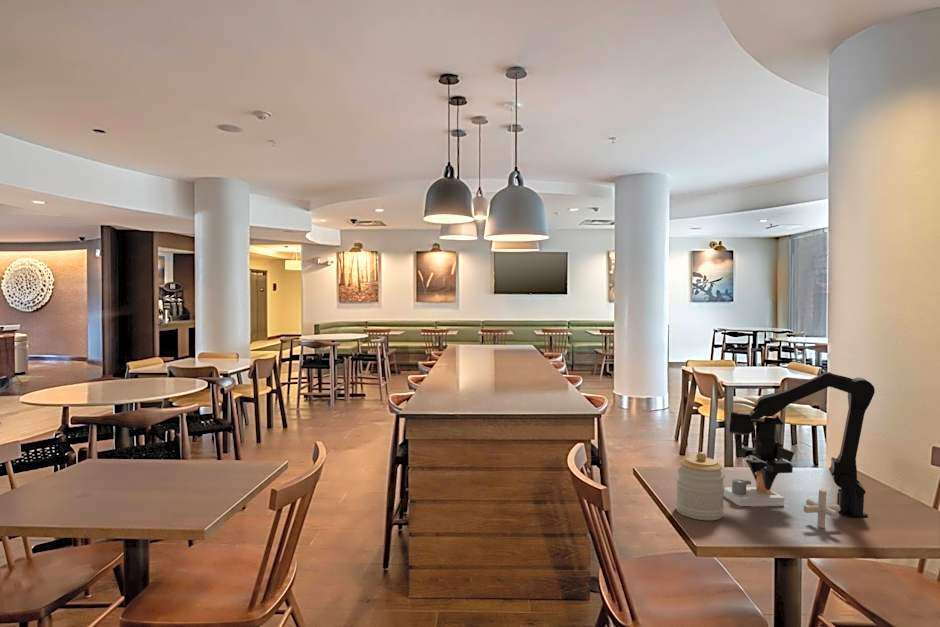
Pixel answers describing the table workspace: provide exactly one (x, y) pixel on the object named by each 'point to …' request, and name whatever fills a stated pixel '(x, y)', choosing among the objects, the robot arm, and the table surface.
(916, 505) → the table surface
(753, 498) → the housing
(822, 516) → the pipe connector
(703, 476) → the jar
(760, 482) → the orange rounded tapered piece
